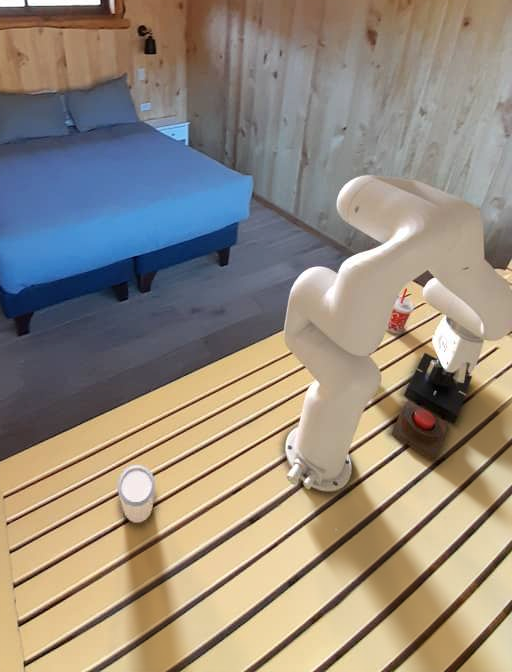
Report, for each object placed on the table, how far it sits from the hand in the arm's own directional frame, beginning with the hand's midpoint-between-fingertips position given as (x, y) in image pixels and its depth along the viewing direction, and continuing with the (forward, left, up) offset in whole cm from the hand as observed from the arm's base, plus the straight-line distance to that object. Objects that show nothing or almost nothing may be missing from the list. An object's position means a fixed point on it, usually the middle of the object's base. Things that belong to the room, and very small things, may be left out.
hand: (441, 379), depth 94 cm
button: (-14, 0, -1) cm, 14 cm away
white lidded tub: (-67, +33, -4) cm, 75 cm away
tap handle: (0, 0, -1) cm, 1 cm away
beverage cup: (+14, +14, -4) cm, 20 cm away
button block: (-14, 0, -4) cm, 15 cm away
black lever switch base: (0, 0, -4) cm, 4 cm away
